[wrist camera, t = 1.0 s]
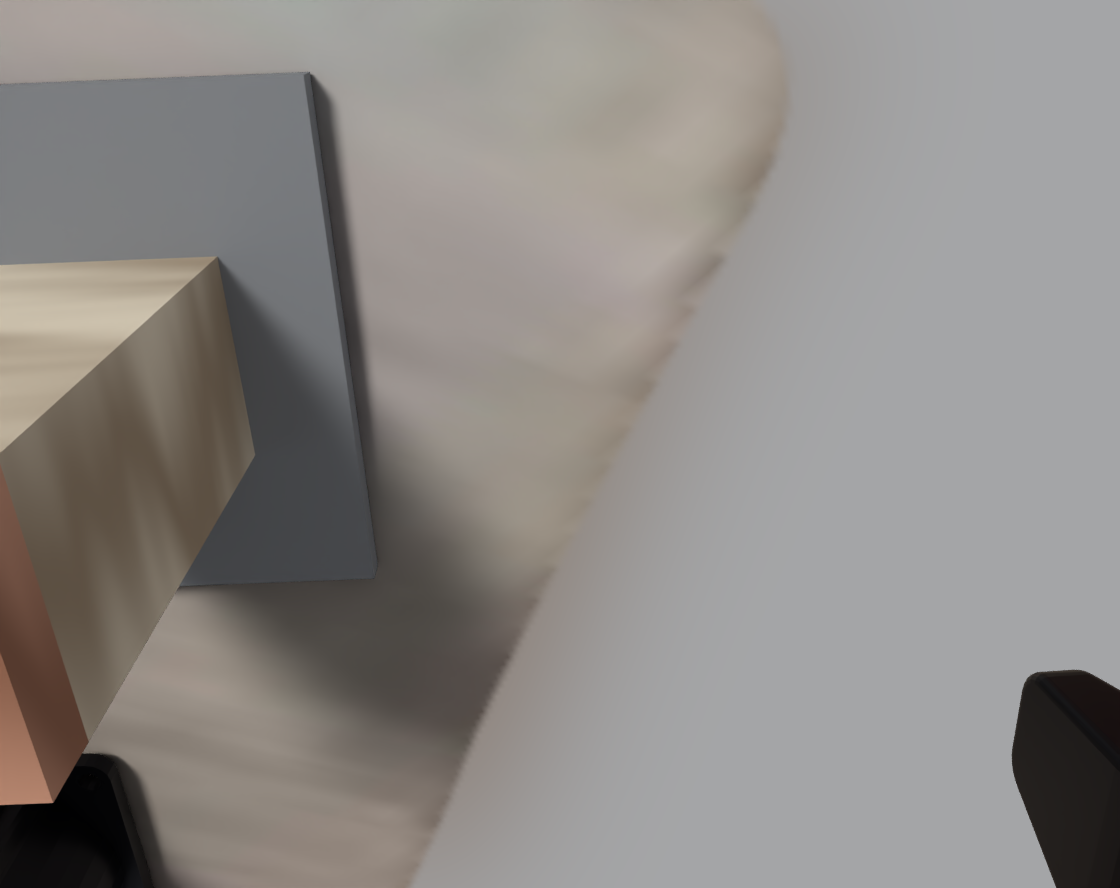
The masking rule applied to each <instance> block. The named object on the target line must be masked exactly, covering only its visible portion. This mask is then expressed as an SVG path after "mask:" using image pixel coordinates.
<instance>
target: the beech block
mask: <svg viewBox="0 0 1120 888" xmlns="http://www.w3.org/2000/svg"><path fill="white" fill-rule="evenodd" d="M254 456H255V451H254V446H253V441H252V436H251V430H250V425H249V420H248V415H247V409H246V404H245V399H244V394H243V388H242V383H241V378H240V373H239V367H238V362H237V357H236V352H235V347H234V341H233V336H232V331H231V326H230V320H229V315H228V310H227V305H226V299H225V294H224V289H223V284H222V278H221V273H220V268H219V263H218V258H217V256H216V257H191V258H166V259H141V260H116V261H91V262H66V263H40V264H15V265H0V805H14V804H39V803H53V802H54V801H55V799H56V797H57V795H58V794H59V792H60V790H61V789H62V787H63V785H64V783H65V782H66V780H67V778H68V777H69V775H70V773H71V771H72V770H73V768H74V766H75V764H76V763H77V761H78V759H79V758H80V756H81V754H82V752H83V751H84V749H85V747H86V746H87V744H88V742H89V740H90V739H91V737H92V735H93V734H94V732H95V730H96V728H97V727H98V725H99V723H100V721H101V720H102V718H103V716H104V715H105V713H106V711H107V709H108V708H109V706H110V704H111V703H112V701H113V699H114V697H115V696H116V694H117V692H118V690H119V689H120V687H121V685H122V684H123V682H124V680H125V678H126V677H127V675H128V673H129V672H130V670H131V668H132V666H133V665H134V663H135V661H136V660H137V658H138V656H139V654H140V653H141V651H142V649H143V647H144V646H145V644H146V642H147V641H148V639H149V637H150V635H151V634H152V632H153V630H154V629H155V627H156V625H157V623H158V622H159V620H160V618H161V616H162V615H163V613H164V611H165V610H166V608H167V606H168V604H169V603H170V601H171V599H172V598H173V596H174V594H175V592H176V591H177V589H178V587H179V586H180V584H181V582H182V580H183V579H184V577H185V575H186V573H187V572H188V570H189V568H190V567H191V565H192V563H193V561H194V560H195V558H196V556H197V555H198V553H199V551H200V549H201V548H202V546H203V544H204V542H205V541H206V539H207V537H208V536H209V534H210V532H211V530H212V529H213V527H214V525H215V524H216V522H217V520H218V518H219V517H220V515H221V513H222V511H223V510H224V508H225V506H226V505H227V503H228V501H229V499H230V498H231V496H232V494H233V493H234V491H235V489H236V487H237V486H238V484H239V482H240V481H241V479H242V477H243V475H244V474H245V472H246V470H247V468H248V467H249V465H250V463H251V462H252V460H253V458H254Z"/></svg>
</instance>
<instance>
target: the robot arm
mask: <svg viewBox="0 0 1120 888" xmlns="http://www.w3.org/2000/svg"><path fill="white" fill-rule="evenodd" d="M1012 766H1013V773H1014V777H1015V781H1016V784H1017V786H1018V789H1019V792H1020V794H1021V797H1022V799H1023V802H1024V804H1025V807H1026V810H1027V813H1028V815H1029V818H1030V820H1031V823H1032V826H1033V828H1034V831H1035V833H1036V836H1037V839H1038V841H1039V844H1040V846H1041V849H1042V852H1043V854H1044V857H1045V859H1046V862H1047V865H1048V867H1049V870H1050V872H1051V875H1052V878H1053V880H1054V883H1055V886H1056V888H1120V690H1119V689H1117V688H1115V687H1113V686H1112V685H1110V684H1108V683H1107V682H1105V681H1103V680H1101V679H1099V678H1098V677H1095V676H1094V675H1092V674H1090V673H1088V672H1086V671H1082V670H1063V671H1048V672H1037V673H1034V674H1032V675H1031V676H1029V677H1028V678H1027V680H1026V682H1025V683H1024V687H1023V690H1022V695H1021V701H1020V707H1019V713H1018V719H1017V724H1016V730H1015V736H1014V742H1013V749H1012ZM89 774H91V775H94V776H96V777H92V776H91V775H89ZM97 777H98V778H97ZM0 888H154V886H153V883H152V879H151V876H150V873H149V870H148V866H147V863H146V860H145V857H144V853H143V850H142V847H141V844H140V840H139V837H138V834H137V831H136V827H135V824H134V821H133V817H132V814H131V811H130V808H129V804H128V801H127V798H126V795H125V791H124V788H123V785H122V782H121V778H120V775H119V772H118V769H117V767H116V765H115V763H114V762H113V761H111V760H110V759H109V758H107V757H105V756H102V755H100V754H81V756H80V758H79V759H78V761H77V763H76V764H75V766H74V768H73V770H72V771H71V773H70V775H69V777H68V778H67V780H66V782H65V783H64V785H63V787H62V789H61V790H60V792H59V794H58V795H57V797H56V799H55V801H54V802H53V803H39V804H14V805H0Z"/></svg>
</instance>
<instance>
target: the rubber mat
mask: <svg viewBox="0 0 1120 888" xmlns="http://www.w3.org/2000/svg"><path fill="white" fill-rule="evenodd" d="M216 256H217V258H218V263H219V268H220V273H221V278H222V284H223V289H224V294H225V299H226V305H227V310H228V315H229V320H230V326H231V331H232V336H233V341H234V347H235V352H236V357H237V362H238V367H239V373H240V378H241V383H242V388H243V394H244V399H245V404H246V409H247V415H248V420H249V425H250V430H251V436H252V441H253V446H254V451H255V456H254V458H253V460H252V462H251V463H250V465H249V467H248V468H247V470H246V472H245V474H244V475H243V477H242V479H241V481H240V482H239V484H238V486H237V487H236V489H235V491H234V493H233V494H232V496H231V498H230V499H229V501H228V503H227V505H226V506H225V508H224V510H223V511H222V513H221V515H220V517H219V518H218V520H217V522H216V524H215V525H214V527H213V529H212V530H211V532H210V534H209V536H208V537H207V539H206V541H205V542H204V544H203V546H202V548H201V549H200V551H199V553H198V555H197V556H196V558H195V560H194V561H193V563H192V565H191V567H190V568H189V570H188V572H187V573H186V575H185V577H184V579H183V580H182V582H181V584H180V586H199V585H224V584H249V583H274V582H299V581H324V580H349V579H374V578H375V574H376V570H377V567H378V563H377V556H376V549H375V542H374V534H373V527H372V520H371V513H370V505H369V498H368V491H367V484H366V476H365V469H364V462H363V455H362V447H361V440H360V433H359V425H358V418H357V411H356V404H355V396H354V389H353V382H352V375H351V367H350V360H349V353H348V346H347V338H346V331H345V324H344V317H343V309H342V302H341V295H340V288H339V280H338V273H337V266H336V259H335V251H334V244H333V237H332V230H331V222H330V215H329V208H328V200H327V193H326V186H325V179H324V171H323V164H322V157H321V150H320V142H319V135H318V128H317V121H316V113H315V106H314V99H313V92H312V84H311V77H310V72H297V73H272V74H247V75H222V76H197V77H172V78H146V79H121V80H96V81H71V82H46V83H21V84H0V265H15V264H40V263H66V262H91V261H116V260H141V259H166V258H191V257H216Z"/></svg>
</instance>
